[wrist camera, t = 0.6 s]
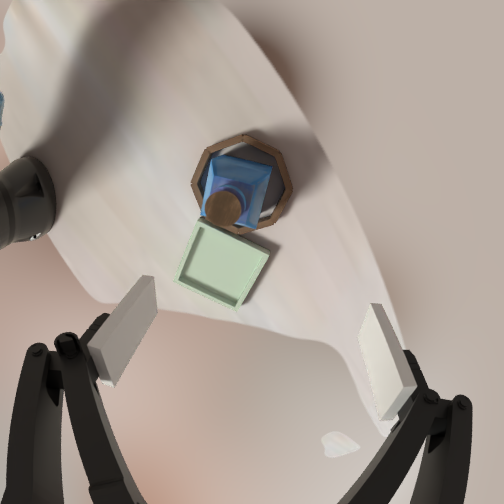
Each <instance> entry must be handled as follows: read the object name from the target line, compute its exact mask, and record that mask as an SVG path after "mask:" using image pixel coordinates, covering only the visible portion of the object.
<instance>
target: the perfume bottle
mask: <svg viewBox="0 0 504 504" xmlns="http://www.w3.org/2000/svg"><path fill="white" fill-rule="evenodd" d="M272 167H273V166H269V165H265V164H261V163H257V162H253V161H249V160H245V159H241V158H237V157H232V156H228V155H221V156H218V157H216V158H213V159H211V163H210V168H209V172H208V177H207V182H206V187H205V193H204V198H203V203H202V208H201V214H200V215H202V216H206V217H207V218H208V219H209V221H210V222H211V223H213V224H214V225H216V226H219V227H228V226H231V225H233V224H238V225H241V226H245V227H249V228H253V229H256V227H257V224H258V220H259V216H260V213H261V209H262V205H263V201H264V197H265V194H266V190H267V186H268V182H269V178H270V174H271V171H272Z"/></svg>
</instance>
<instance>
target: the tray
mask: <svg viewBox="0 0 504 504" xmlns="http://www.w3.org/2000/svg"><path fill="white" fill-rule="evenodd" d="M269 255H270V251H269V250H267V249H265V248H263V247H261V246H259V245H257V244H255V243H253V242H251V241H249V240H247V239H245V238H243V237H241V236H239V235H237V234H234V233H232V232H230V231H228V230H226V229H224V228H222V227H219V226H216V225H214V224H213V223H211V222H210V221H208V220H205V219H203V218H201V217H200V218H199V219H198V220H197V223H196V225H195V227H194V230H193V232H192V235H191V237H190V240H189V242H188V245H187V247H186V250H185V252H184V255H183V257H182V260H181V262H180V265H179V267H178V270H177V273H176V275H175V278H174V281H173V282H175V283H177V284H179V285H181V286H183V287H185V288H187V289H189V290H191V291H193V292H195V293H198V294H200V295H202V296H204V297H206V298H208V299H210V300H212V301H214V302H217V303H219V304H221V305H223V306H225V307H227V308H230V309H232V310H234V311H236V312H237V311H238V309H239V308H240V306H241V304H242V302H243V301H244V299H245V297H246V296H247V294H248V292H249V290H250V289H251V287H252V285H253V283H254V282H255V280H256V278H257V276H258V275H259V273H260V271H261V269H262V268H263V266H264V264H265V262H266V261H267V259H268V257H269Z"/></svg>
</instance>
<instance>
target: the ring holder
mask: <svg viewBox="0 0 504 504" xmlns="http://www.w3.org/2000/svg"><path fill="white" fill-rule="evenodd" d="M240 142H245V143H247V144H250V145H252V146H254V147H256V148H258V149H260V150H262V151H264V152H266V153H268V154H270V155H272V156H274V157H275V158H276V161H277V164H278V167H279V170H280V173H281V176H282V179H283V182H284V185H285V190H284V192H283V194H282V196H281V198H280V199H279V201H278V203H277V205H276V207H275V209H274V211H273V213H272V214H271V216H269V217H265V218H262V219H259V220H258V224H257V227H256V229H253V228H249V227H245V226H241V225H238V224H233V225H231V226H228V227H222V228H225V229H227V230H229V231H231V232H233V233H235V234H238V232H239V235H241V234H244V233H247V232H251V231H254V230H257V229H261V228H264V227H268V226H271V225H274V223H276V221H277V219H278V218H279V216H280V214H281V212H282V210H283V208H284V207H285V205H286V203H287V201H288V199H289V197H290V196H291V194H292V192H293V190H292V189H293V187H292V184H291V181H290V178H289V175H288V172H287V169H286V166H285V163H284V160H283V157H282V154H281V153H279V150H277V149H275V148H273V147H271V146H269V145H267V144H265V143H263V142H261V141H258V140H256V139H254V138H252V137H250V136H248V135H239V136H236V137H233V138H231V139H228V140H225V141H223V142H220V143H217V144H215V145H212V146H210V147H207V149H205V150H204V152H203V154H202V157H201V159H200V161H199V163H198V166H197V168H196V170H195V173H194V175H193V178H192V180H191V183H192V184H191V187H192V190H193V192H194V195H195V197H196V200H197V202H198V205H199V207H200V210H201V208H202V203H203V198H204V191H203V188H202V186H201V183H200V180H201V178H202V176H203V173H204V171H205V169H206V167H207V164H208V162H209V160H210V158H211V155H212V153H213V152H215V151H218V150H221V149H223V148H226V147H229V146H231V145H234V144H237V143H240ZM203 217H206V216H203ZM205 219H206V220H208V221H209V219H208V218H207V217H206V218H205Z"/></svg>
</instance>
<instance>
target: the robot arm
mask: <svg viewBox="0 0 504 504" xmlns="http://www.w3.org/2000/svg"><path fill="white" fill-rule="evenodd" d="M3 107H4V96H3V94H2V92H0V128H1V126H2V121H1V120H2V113H3ZM55 211H56V199H55V192H54V187H53V183H52V180H51V178H50V175H49V173H48V171H47V170H46V168H45V167H44V165H43V164H42V163H41V162H40V161H39V160H37V159H36V158H34V157H24V158H20V159H17V160H15V161H13V162H12V163H11V164H10V165H9V166H7V167H6V168H4V169H3V170H2V171H1V172H0V250H1V249H3V248H4V247H6V246H7V245H9V244H11V243H16V242H23V241H32V240H36V239H38V238H39V237H41V236H43V235H45V234H46V233H47V232H48V231H49V230H50V228H51V227H52V224H53V222H54V218H55ZM157 313H158V311H157V302H156V292H155V282H154V277H153V276H147V275H142V277H141V278H140V279H139V280H138V281H137V282H136V284H135V285H134V286H133V287H132V288H131V290H130V291H129V292H128V293H127V295H126V296H125V297H124V298H123V299H122V301H121V302H120V303H119V304H118V306H117V307H116V308H115V309H114V311H113V312H112V313H111V314H107V313H103V314H102V315H100V316H99V317H97V318H96V319H95V321H94V322H93V323H92V324H91V326H90V327H89V329H87V330H86V332H85V333H84V334H83V335H82V337H81V338H80V339H78V337H77V335H76V334H74V333H72V332H66V333H62V334H60V335H59V336H57V337H56V339H55V341H54V345H55V347H56V350H57V351H49V350H48V348H47V346H46V345H45V344H43V343H35V344H33V345H31V346H30V347H29V348H28V350H27V352H26V356H25V360H24V363H23V367H22V370H21V374H20V379H19V383H18V387H17V392H16V397H15V403H14V407H13V413H12V419H11V426H10V434H9V443H8V454H7V473H6V489H5V492H4V495H3V498H2V501H1V504H64V498H63V487H62V473H61V472H62V471H61V422H62V405H63V394H64V393H63V392H64V391H65V397H66V402H67V407H68V412H69V416H70V420H71V425H72V429H73V433H74V436H75V440H76V444H77V447H78V450H79V453H80V457H81V460H82V463H83V466H84V469H85V472H86V475H87V477H88V480H89V483H90V486H89V493H90V496H91V499H92V501H93V504H147V503H146V501H145V500H144V498H143V497H142V495H141V493H140V492H139V490H138V488H137V486H136V484H135V482H134V480H133V478H132V476H131V474H130V472H129V469H128V468H127V465H126V463H125V461H124V458H123V456H122V454H121V451H120V449H119V446H118V444H117V442H116V439H115V436H114V434H113V431H112V429H111V426H110V423H109V420H108V418H107V415H106V412H105V409H104V406H103V403H102V399H101V396H100V393H99V390H98V386H97V383H96V380H97V379H98V377H99V378H100V380H101V382H102V384H105V385H108V386H111V387H115V386H116V384H117V382H118V381H119V378H120V377H121V375H122V373H123V372H124V370H125V368H126V366H127V364H128V363H129V361H130V359H131V357H132V356H133V354H134V352H135V350H136V349H137V347H138V345H139V344H140V342H141V340H142V338H143V337H144V335H145V333H146V332H147V330H148V328H149V327H150V325H151V323H152V322H153V320H154V318H155V317H156V315H157ZM358 341H359V344H360V348H361V351H362V355H363V358H364V362H365V366H366V369H367V373H368V377H369V380H370V384H371V388H372V392H373V396H374V400H375V404H376V409H377V413H378V417H379V421H387V420H393V419H394V417H395V416H396V415H397V413H398V416H399V420H398V421H397V423H396V424H395V425H394V426H393V427H392V429H391V433H390V434H389V436H388V437H387V439H386V440H385V442H384V443H383V445H382V446H381V448H380V449H379V451H378V452H377V454H376V455H375V457H374V458H373V460H372V461H371V462H370V464H369V465H368V466H367V468H366V469H365V471H364V472H363V473H362V474H361V476H360V477H359V478H358V480H357V481H356V482H355V483H354V485H353V486H352V487H351V488H350V490H349V491H348V492H347V493H346V494H345V495H344V497H343V498H342V499H341V500H340V501H339V502H338V503H337V504H388V503H389V502H390V500H391V498H392V497H393V496H394V494H395V492H396V491H397V489H398V488H399V486H400V485H401V483H402V481H403V480H404V478H405V476H406V474H407V473H408V471H409V469H410V467H411V466H412V464H413V462H414V460H415V458H416V456H417V454H418V453H419V451H420V449H421V446H422V445H423V443H424V440H425V438H426V443H425V448H424V453H423V457H422V461H421V466H420V470H419V474H418V478H417V482H416V485H415V488H414V492H413V495H412V498H411V501H410V504H463V503H464V498H465V493H466V487H467V480H468V473H469V466H470V455H471V443H472V403H471V401H470V399H469V398H467V397H466V396H464V395H457V396H455V397H454V399H453V400H452V401H451V400H445V399H440V396H439V395H438V393H437V392H435V391H434V390H432V389H429V388H428V385H427V383H426V381H425V378H424V376H423V374H422V371H421V370H420V367H419V365H418V362H417V360H416V358H415V356H414V355H413V354H412V353H411V352H410V350H402V347H401V345H400V343H399V341H398V338H397V336H396V334H395V332H394V330H393V327H392V325H391V323H390V321H389V319H388V317H387V315H386V312H385V310H384V308H383V306H382V304H375V303H370V306H369V308H368V311H367V314H366V317H365V319H364V322H363V325H362V327H361V330H360V333H359V335H358ZM426 436H427V437H426Z"/></svg>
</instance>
